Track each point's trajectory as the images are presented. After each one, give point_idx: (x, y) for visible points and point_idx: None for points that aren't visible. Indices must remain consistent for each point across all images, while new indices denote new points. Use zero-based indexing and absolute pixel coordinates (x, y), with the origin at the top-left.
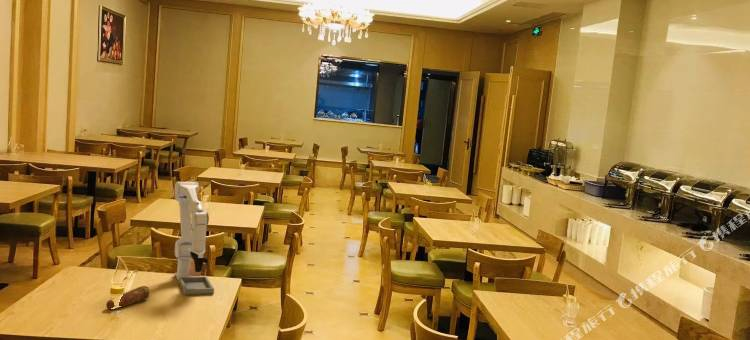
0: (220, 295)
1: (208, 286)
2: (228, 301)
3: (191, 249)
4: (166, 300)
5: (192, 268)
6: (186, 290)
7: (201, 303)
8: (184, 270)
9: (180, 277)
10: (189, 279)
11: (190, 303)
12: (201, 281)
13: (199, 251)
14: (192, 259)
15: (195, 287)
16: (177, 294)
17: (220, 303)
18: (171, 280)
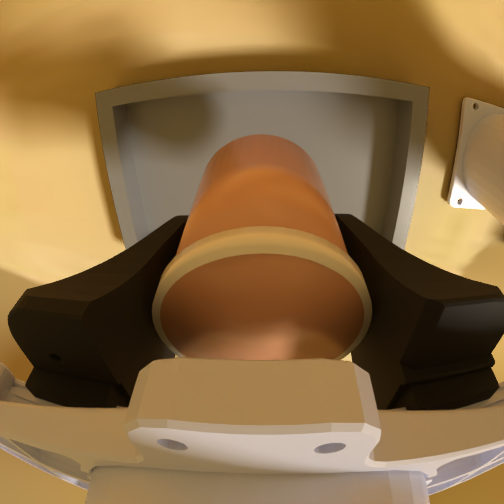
0: None
1: None
2: None
3: (247, 475)
4: (48, 4)
5: (198, 195)
6: (99, 102)
7: (15, 181)
8: (499, 155)
9: (423, 95)
10: (401, 155)
11: (9, 131)
12: (379, 226)
13: (71, 476)
14: (183, 265)
15: None
16: (140, 42)
17: (32, 257)
18: (462, 58)
